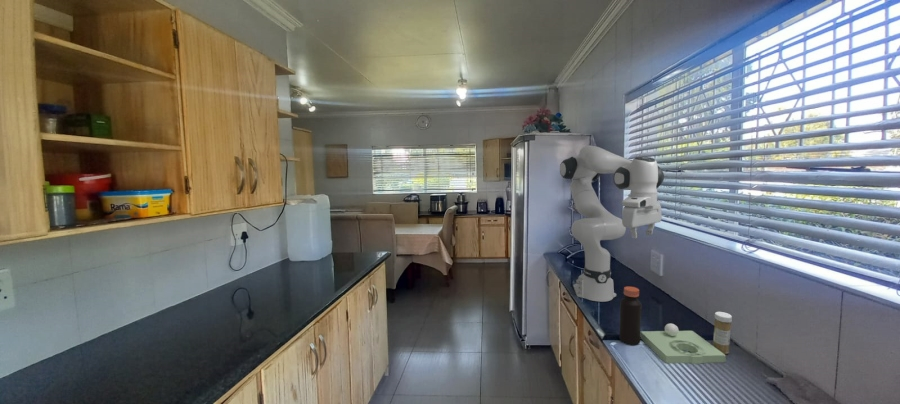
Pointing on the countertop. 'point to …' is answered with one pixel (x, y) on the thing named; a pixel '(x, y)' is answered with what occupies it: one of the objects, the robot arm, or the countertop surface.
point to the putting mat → (682, 347)
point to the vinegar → (630, 317)
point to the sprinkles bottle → (722, 331)
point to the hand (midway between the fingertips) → (642, 236)
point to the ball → (671, 329)
